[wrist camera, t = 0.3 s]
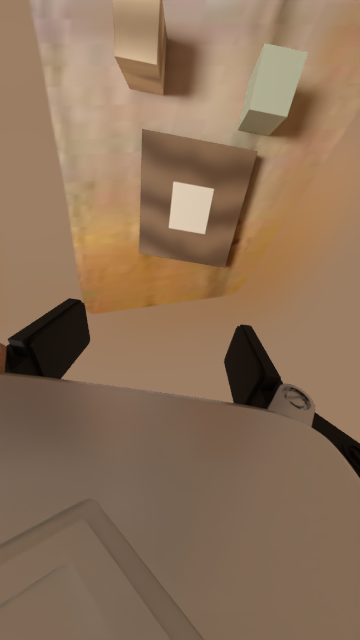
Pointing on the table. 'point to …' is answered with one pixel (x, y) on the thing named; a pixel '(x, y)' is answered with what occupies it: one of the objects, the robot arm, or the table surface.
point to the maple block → (141, 43)
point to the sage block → (271, 89)
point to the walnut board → (191, 197)
